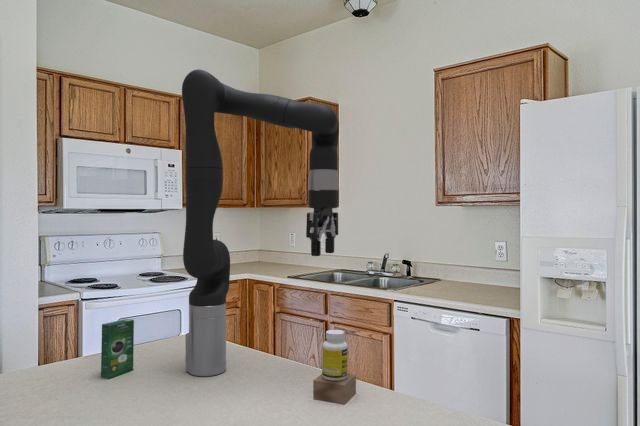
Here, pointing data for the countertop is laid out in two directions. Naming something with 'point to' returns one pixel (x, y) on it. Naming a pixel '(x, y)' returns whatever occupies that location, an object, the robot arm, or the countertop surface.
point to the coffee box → (117, 348)
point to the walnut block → (334, 389)
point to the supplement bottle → (334, 356)
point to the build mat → (337, 403)
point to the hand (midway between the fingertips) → (322, 254)
